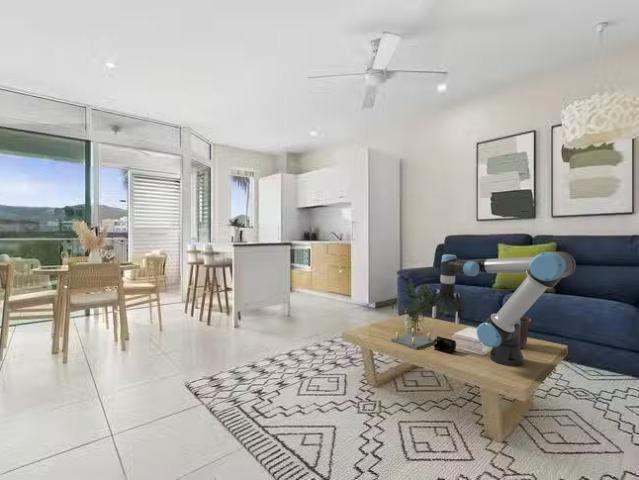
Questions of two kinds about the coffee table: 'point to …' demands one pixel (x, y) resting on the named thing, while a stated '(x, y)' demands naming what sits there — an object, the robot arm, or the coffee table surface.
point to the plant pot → (524, 331)
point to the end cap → (445, 345)
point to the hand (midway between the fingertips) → (445, 320)
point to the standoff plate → (417, 341)
